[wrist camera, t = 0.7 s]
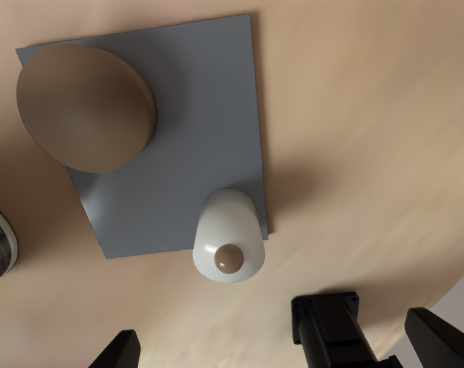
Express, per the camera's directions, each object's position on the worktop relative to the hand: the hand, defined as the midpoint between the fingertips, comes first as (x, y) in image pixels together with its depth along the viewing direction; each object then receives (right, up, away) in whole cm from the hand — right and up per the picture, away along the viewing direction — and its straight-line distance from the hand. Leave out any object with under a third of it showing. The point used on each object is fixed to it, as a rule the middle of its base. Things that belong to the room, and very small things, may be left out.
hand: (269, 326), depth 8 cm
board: (-6, +7, +10) cm, 14 cm away
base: (-10, +10, +8) cm, 16 cm away
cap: (-2, +2, +11) cm, 12 cm away
